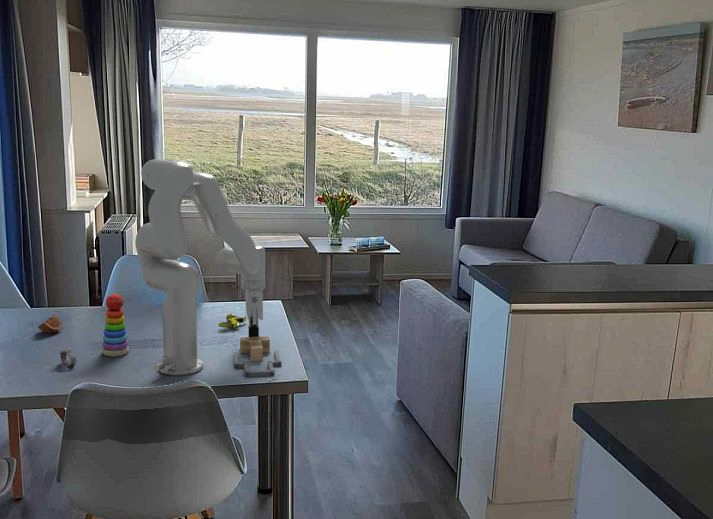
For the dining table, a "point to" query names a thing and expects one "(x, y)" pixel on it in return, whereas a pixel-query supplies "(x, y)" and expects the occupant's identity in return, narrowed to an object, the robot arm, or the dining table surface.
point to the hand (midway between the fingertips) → (253, 338)
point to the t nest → (258, 373)
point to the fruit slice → (51, 325)
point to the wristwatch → (70, 354)
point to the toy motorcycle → (232, 321)
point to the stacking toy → (115, 328)
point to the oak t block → (255, 346)
